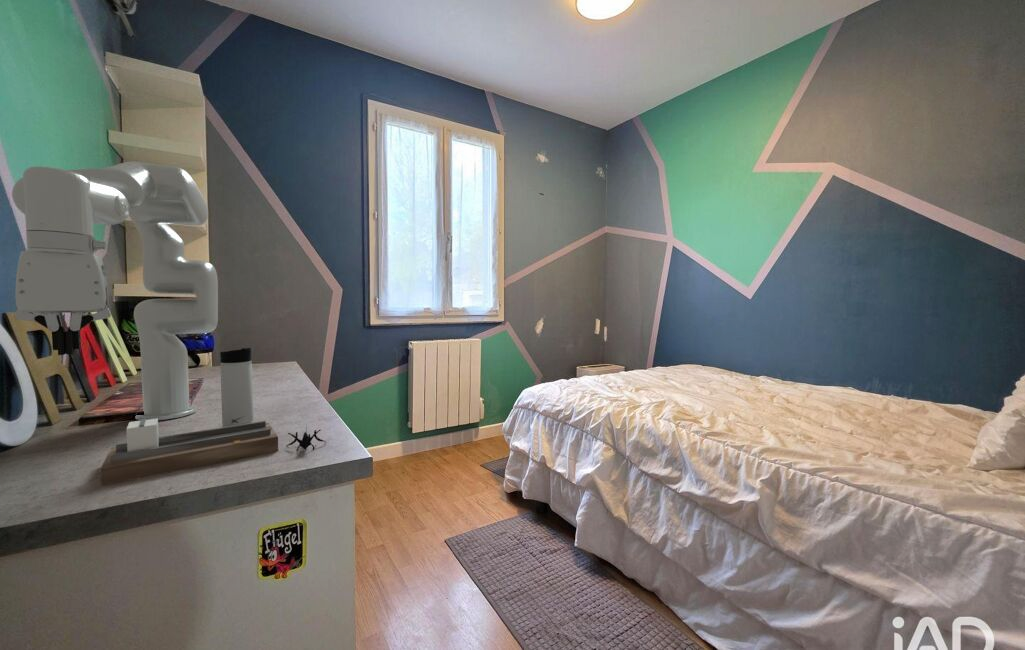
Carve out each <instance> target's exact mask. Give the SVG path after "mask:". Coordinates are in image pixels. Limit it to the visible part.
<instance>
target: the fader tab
mask: <svg viewBox="0 0 1025 650" xmlns="http://www.w3.org/2000/svg"><path fill="white" fill-rule="evenodd" d="M159 433H160V432H159V420H158V418H157V419H149V420H146V419H142V420H141V421H140V420H135V421H129V422H128V425H127V427H126V442H127V452H130V451H136V450H142V449H148V448H154V447H158V446H159V437H160V436H159Z"/></svg>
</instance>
